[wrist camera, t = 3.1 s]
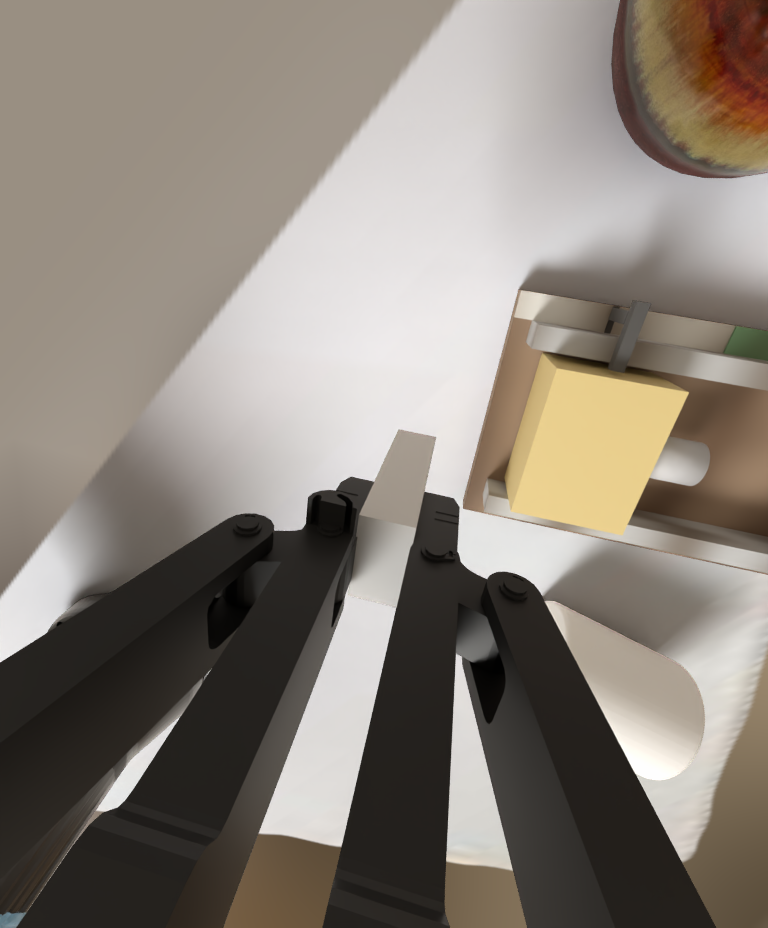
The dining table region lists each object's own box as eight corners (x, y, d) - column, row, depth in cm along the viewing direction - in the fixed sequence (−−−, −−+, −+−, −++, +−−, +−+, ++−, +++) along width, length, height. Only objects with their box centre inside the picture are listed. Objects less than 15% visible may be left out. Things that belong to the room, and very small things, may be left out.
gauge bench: (463, 500, 30) (462, 561, 24) (518, 289, 24) (537, 295, 18) (826, 578, 28) (934, 669, 22) (985, 366, 22) (1200, 405, 16)
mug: (554, 577, 32) (580, 667, 25) (671, 637, 32) (731, 742, 25) (472, 672, 37) (473, 769, 30) (573, 722, 37) (599, 830, 30)
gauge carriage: (504, 477, 28) (510, 511, 24) (561, 288, 23) (581, 291, 19) (648, 507, 27) (680, 548, 23) (739, 317, 22) (800, 327, 18)
